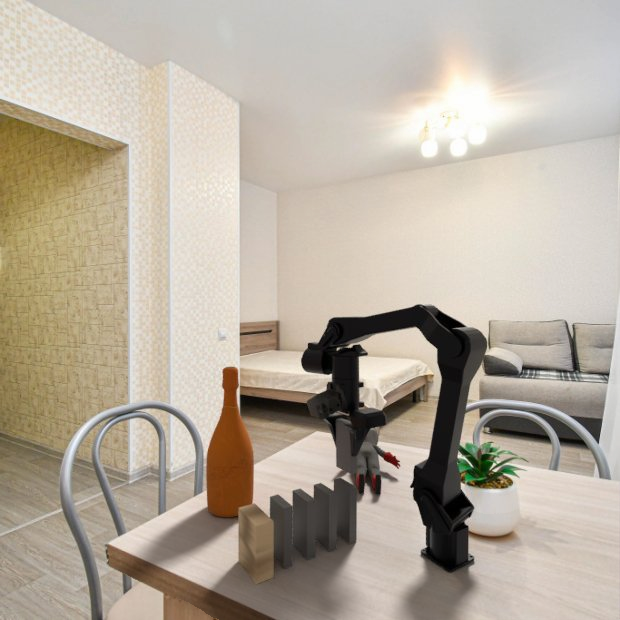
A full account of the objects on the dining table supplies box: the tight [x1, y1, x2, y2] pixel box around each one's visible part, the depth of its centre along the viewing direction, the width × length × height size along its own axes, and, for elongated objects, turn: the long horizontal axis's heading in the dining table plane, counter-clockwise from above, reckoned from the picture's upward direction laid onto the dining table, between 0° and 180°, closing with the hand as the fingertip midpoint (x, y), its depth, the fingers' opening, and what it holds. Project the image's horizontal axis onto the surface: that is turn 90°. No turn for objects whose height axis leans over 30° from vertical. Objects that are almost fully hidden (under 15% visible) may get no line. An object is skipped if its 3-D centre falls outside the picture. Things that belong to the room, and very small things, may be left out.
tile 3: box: [313, 482, 338, 553], centre depth 77 cm, size 5×2×10 cm, turn 32°
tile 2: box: [333, 477, 358, 545], centre depth 79 cm, size 5×2×10 cm, turn 32°
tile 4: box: [292, 488, 316, 561], centre depth 74 cm, size 5×2×10 cm, turn 32°
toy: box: [355, 427, 401, 495], centre depth 112 cm, size 16×10×30 cm
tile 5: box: [269, 494, 293, 570], centre depth 72 cm, size 5×2×10 cm, turn 32°
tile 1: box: [335, 418, 357, 475], centre depth 88 cm, size 5×2×10 cm, turn 32°
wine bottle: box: [205, 366, 255, 518], centre depth 90 cm, size 10×10×30 cm
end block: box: [237, 502, 275, 585], centre depth 69 cm, size 7×3×9 cm, turn 32°
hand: (346, 452), depth 88 cm, fingers closed on tile 1, 5 cm apart
